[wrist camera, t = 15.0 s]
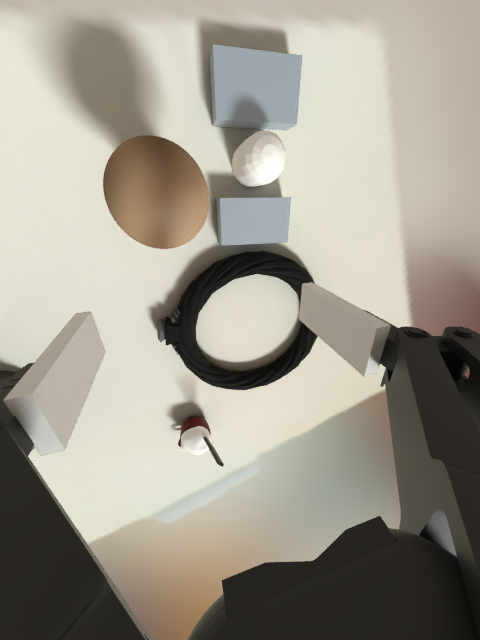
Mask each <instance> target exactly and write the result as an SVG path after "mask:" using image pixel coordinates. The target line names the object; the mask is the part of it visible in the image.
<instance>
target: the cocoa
mask: <svg viewBox="0 0 480 640" xmlns="http://www.w3.org/2000/svg"><path fill="white" fill-rule="evenodd" d="M178 446H179V447H181V449H184V450H186V451H188V452H189V453H192V454H196V455H200V454H202V453H204V452H205V451H207V450H210V451H211V453H212V455H213V457H214V459H215V460H216V462H217V464H218V465H220V466H221V467H222V466H223V463H222V461H221V459H220V457H219V456H218V454H217V452H216V451H215V449H214V447H213V446H212V437H211V433H210V429H209V426H208V424H207V422H206V420H204V419H203V418H201V417H192V418H190V419H188V420H187V421H186V422H185V423H184V424H183V426H182V430H181V434H180V440H179V442H178Z"/></svg>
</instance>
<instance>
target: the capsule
mask: <svg viewBox="0 0 480 640" xmlns="http://www.w3.org/2000/svg"><path fill="white" fill-rule="evenodd" d="M285 161H286V150H285V147H284V145H283V142H282V140H281V139H280V138H279V137H278V135H277V134H275V133H273V132H270V131H258V132H256V133H254V134H253V135H251V136H250V137H248V138H247V139H246V140H245V141H244V142H243V143H242V144H240V145H239V146H238V148H237V149H236V151H235V152H234V154H233V159H232V170H233V173H234V175H235V177H236V179H237V180H238V181H239V182H240V183H241V184H242V185H244V186H247V187H253V186H260V185H265V184H269V183H271V182H272V181H274V180H275V179H276V178H277V177H278V176H279V175H280V173H281V172H282V170H283V168H284V165H285Z"/></svg>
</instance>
